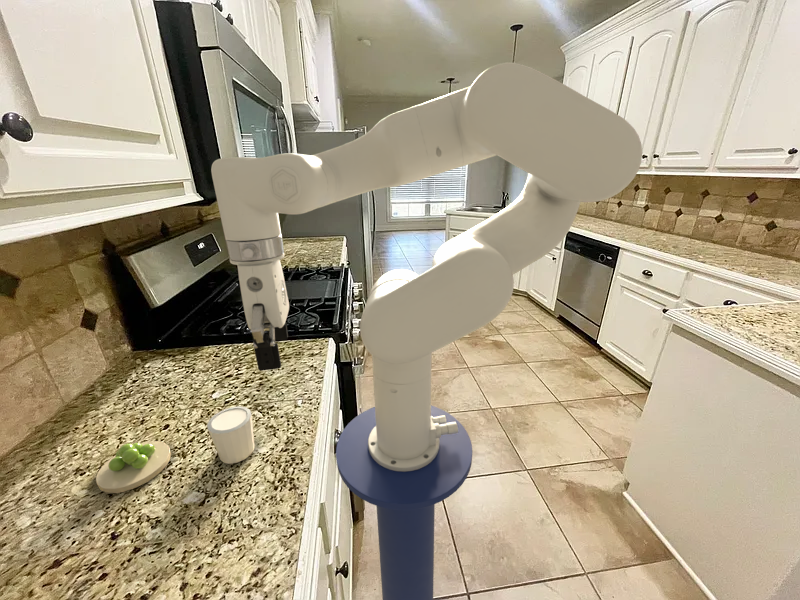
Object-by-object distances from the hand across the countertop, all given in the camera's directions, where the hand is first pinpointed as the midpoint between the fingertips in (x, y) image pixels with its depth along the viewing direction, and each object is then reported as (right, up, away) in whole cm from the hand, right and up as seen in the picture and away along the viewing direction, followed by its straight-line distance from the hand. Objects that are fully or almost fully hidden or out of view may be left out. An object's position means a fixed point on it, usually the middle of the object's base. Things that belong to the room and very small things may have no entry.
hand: (274, 353), depth 56 cm
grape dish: (-24, -20, +2) cm, 31 cm away
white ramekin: (-8, -18, +5) cm, 21 cm away
